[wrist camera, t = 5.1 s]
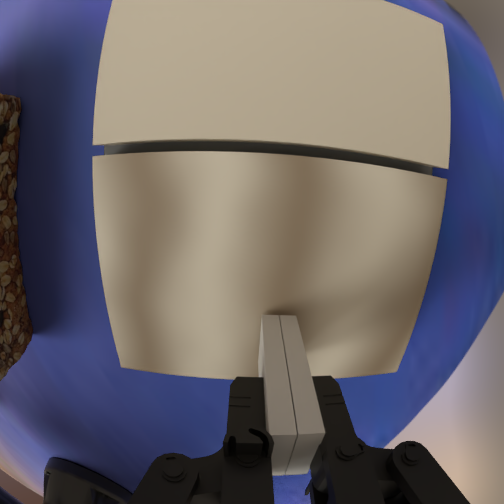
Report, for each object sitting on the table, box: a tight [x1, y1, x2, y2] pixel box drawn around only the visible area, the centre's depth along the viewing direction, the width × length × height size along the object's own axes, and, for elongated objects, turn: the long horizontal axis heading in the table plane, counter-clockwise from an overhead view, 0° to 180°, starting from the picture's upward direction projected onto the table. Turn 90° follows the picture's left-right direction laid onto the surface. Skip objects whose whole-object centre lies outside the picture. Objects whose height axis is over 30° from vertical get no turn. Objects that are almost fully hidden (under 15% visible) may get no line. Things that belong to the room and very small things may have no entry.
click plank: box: [93, 151, 447, 380], centre depth 13 cm, size 16×11×2 cm
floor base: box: [93, 0, 451, 176], centre depth 13 cm, size 17×20×3 cm
